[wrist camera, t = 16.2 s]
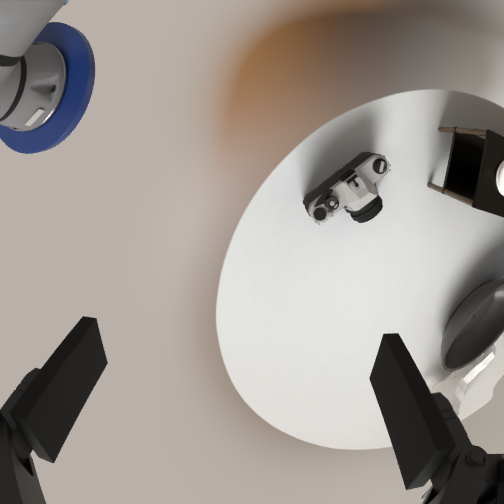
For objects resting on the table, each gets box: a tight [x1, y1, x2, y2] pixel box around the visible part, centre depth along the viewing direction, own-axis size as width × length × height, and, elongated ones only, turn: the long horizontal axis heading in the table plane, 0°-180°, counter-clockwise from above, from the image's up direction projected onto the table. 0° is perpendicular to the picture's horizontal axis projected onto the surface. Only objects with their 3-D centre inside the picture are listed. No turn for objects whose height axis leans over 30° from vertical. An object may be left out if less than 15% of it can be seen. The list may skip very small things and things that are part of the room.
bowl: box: [441, 279, 504, 371], centre depth 49 cm, size 12×22×6 cm, turn 144°
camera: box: [303, 152, 391, 225], centre depth 42 cm, size 13×8×9 cm, turn 133°
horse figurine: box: [430, 345, 495, 416], centre depth 55 cm, size 5×16×25 cm
